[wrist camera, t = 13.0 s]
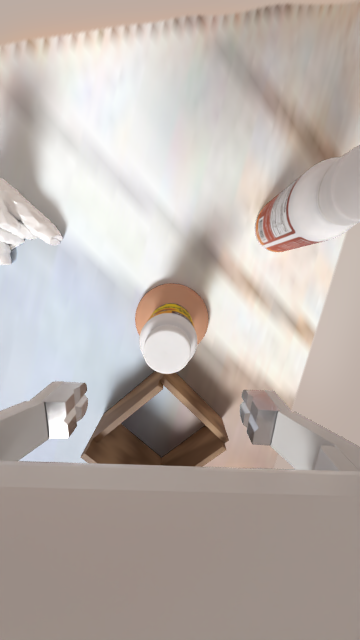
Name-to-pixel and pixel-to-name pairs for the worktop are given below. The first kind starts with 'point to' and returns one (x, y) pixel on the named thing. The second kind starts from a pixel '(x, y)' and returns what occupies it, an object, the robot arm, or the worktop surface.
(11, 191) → the seated beast figurine
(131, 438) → the frame
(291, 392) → the worktop surface
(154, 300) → the tan oval disc
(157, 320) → the supplement bottle
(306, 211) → the pill bottle
